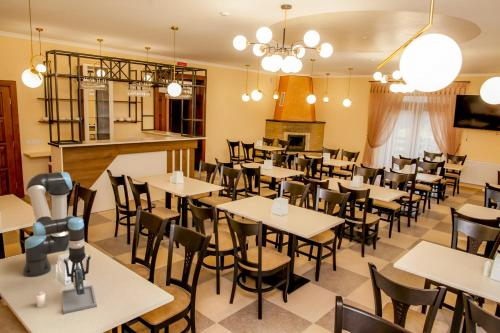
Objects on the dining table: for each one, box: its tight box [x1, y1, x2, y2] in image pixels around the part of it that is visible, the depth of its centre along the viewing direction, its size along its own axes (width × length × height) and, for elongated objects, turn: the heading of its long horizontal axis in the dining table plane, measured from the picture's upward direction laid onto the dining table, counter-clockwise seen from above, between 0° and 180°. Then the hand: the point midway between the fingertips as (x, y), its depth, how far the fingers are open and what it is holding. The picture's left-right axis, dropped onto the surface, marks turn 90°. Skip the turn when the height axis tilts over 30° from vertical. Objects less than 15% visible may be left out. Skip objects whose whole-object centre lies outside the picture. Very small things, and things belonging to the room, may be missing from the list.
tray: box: [61, 284, 98, 315], centre depth 194 cm, size 22×16×2 cm
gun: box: [72, 263, 85, 295], centre depth 193 cm, size 3×17×15 cm
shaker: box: [35, 290, 46, 309], centre depth 186 cm, size 4×4×9 cm
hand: (78, 286), depth 193 cm, fingers closed on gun, 3 cm apart
